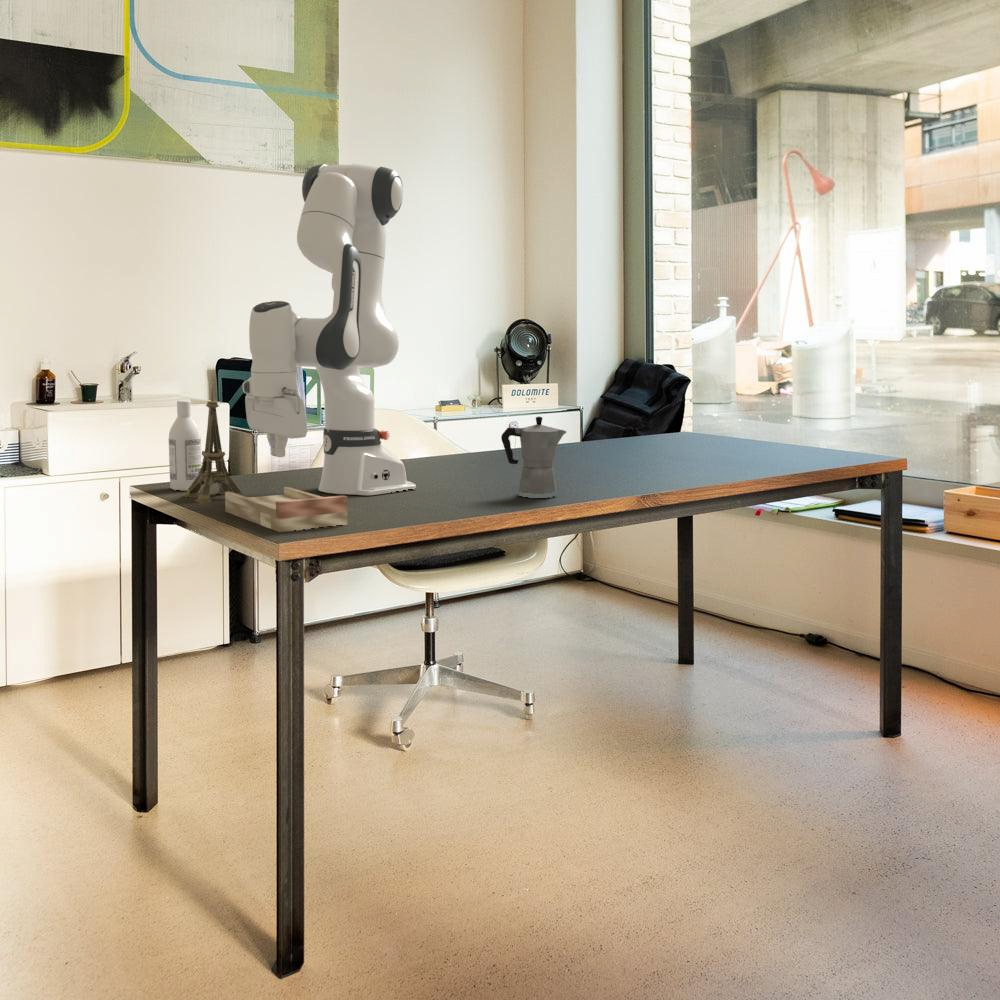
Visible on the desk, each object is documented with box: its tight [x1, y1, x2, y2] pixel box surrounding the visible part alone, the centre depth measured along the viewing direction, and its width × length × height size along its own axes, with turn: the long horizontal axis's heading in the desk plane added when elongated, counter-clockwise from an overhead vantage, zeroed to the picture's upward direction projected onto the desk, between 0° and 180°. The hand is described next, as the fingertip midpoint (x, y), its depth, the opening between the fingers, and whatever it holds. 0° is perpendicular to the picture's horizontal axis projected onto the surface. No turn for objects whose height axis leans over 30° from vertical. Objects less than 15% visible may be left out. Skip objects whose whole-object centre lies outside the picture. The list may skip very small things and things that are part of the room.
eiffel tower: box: [182, 390, 243, 504], centre depth 234 cm, size 11×11×25 cm
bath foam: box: [168, 399, 203, 492], centre depth 245 cm, size 7×7×20 cm
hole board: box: [224, 486, 348, 533], centre depth 213 cm, size 14×25×6 cm, turn 37°
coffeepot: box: [501, 416, 567, 494], centre depth 245 cm, size 15×9×18 cm, turn 109°
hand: (278, 456), depth 215 cm, fingers closed
